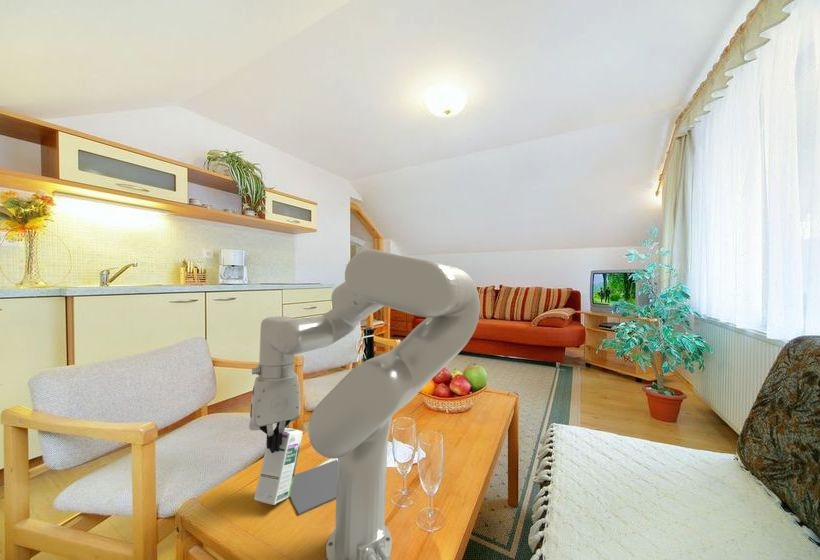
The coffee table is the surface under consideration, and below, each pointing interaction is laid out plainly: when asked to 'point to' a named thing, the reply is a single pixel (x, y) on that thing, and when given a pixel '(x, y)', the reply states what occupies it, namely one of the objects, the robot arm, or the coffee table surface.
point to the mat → (314, 487)
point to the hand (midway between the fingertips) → (273, 449)
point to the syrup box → (279, 469)
